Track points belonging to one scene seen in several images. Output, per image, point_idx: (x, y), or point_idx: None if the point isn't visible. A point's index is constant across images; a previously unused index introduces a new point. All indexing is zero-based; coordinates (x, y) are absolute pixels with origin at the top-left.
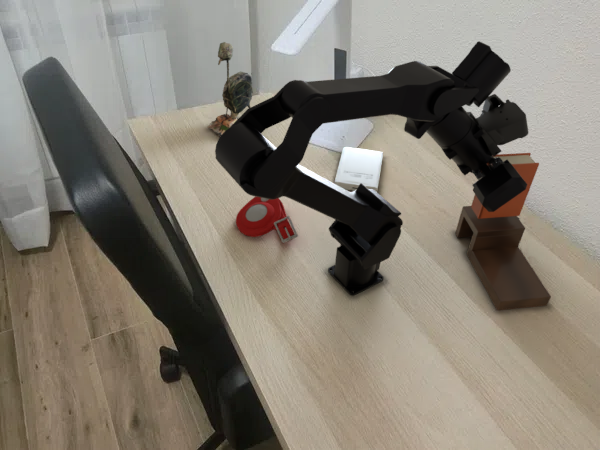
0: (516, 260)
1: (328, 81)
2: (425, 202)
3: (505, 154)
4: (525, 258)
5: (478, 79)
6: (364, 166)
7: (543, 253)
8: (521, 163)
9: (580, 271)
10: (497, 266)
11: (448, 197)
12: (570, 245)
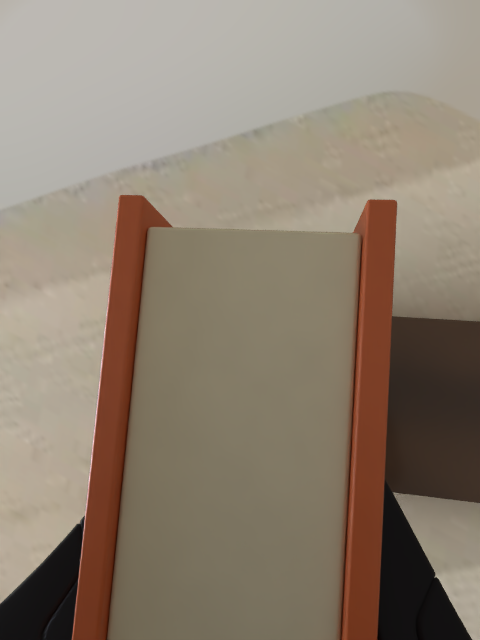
0: (422, 356)
1: None
2: (58, 482)
3: (92, 579)
4: (416, 319)
5: None
6: None
7: (356, 223)
8: (329, 447)
9: (452, 152)
10: (439, 437)
11: (51, 394)
12: (337, 123)
